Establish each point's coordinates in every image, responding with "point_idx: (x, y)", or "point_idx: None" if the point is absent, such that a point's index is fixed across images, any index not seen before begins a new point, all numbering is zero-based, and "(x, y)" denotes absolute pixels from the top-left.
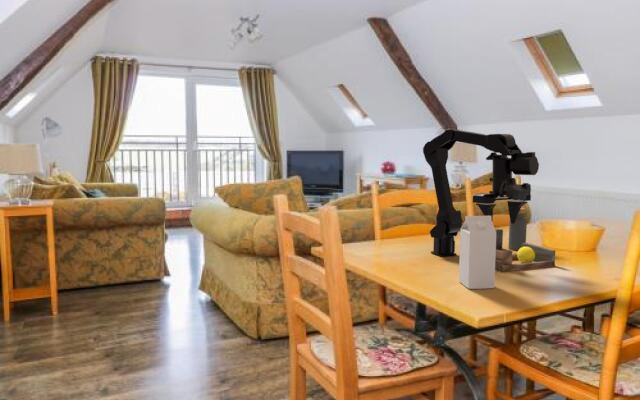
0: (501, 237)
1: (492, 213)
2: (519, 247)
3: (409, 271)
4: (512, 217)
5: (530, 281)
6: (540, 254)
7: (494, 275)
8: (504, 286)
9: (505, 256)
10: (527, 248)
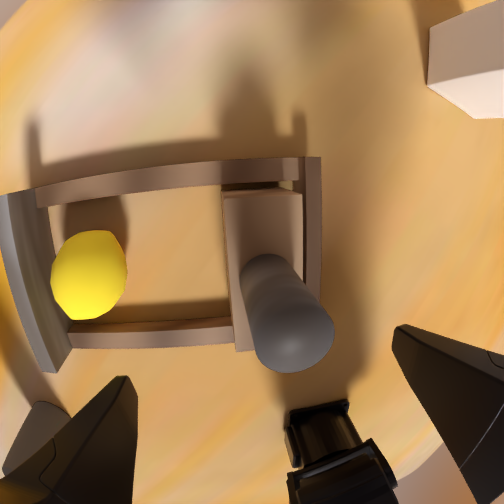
0: (276, 281)
1: (487, 369)
2: (49, 411)
3: (498, 260)
4: (121, 431)
5: (285, 16)
6: (35, 254)
7: (452, 18)
8: (396, 24)
9: (269, 192)
10: (77, 272)
